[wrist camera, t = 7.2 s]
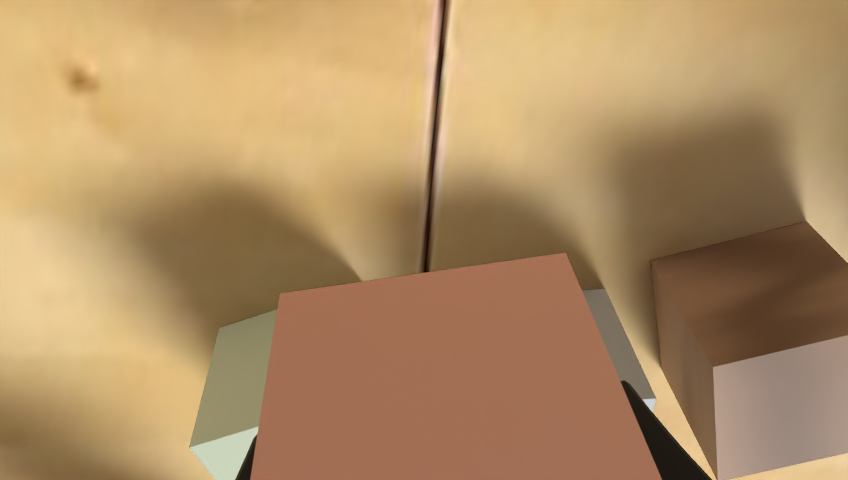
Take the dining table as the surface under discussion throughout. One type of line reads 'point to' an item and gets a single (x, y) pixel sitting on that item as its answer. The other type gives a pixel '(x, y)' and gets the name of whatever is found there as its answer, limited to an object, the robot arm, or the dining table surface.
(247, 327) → the sage cube
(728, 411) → the walnut cube
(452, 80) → the dining table surface
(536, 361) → the terracotta cube
